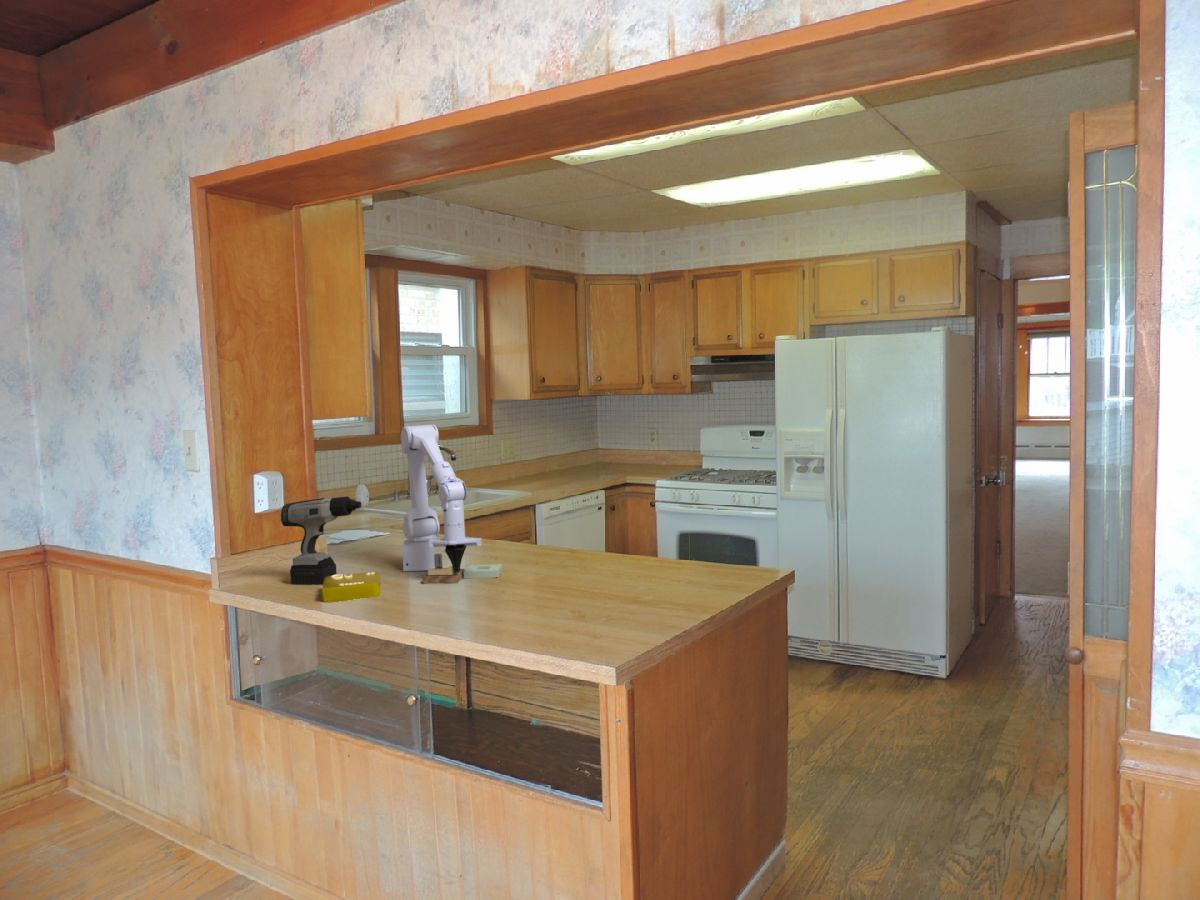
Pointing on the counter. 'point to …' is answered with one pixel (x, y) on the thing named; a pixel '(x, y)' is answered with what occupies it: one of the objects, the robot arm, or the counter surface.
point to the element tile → (351, 586)
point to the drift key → (441, 571)
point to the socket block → (444, 578)
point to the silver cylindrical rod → (438, 560)
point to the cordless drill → (314, 535)
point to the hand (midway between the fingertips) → (456, 571)
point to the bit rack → (483, 571)
